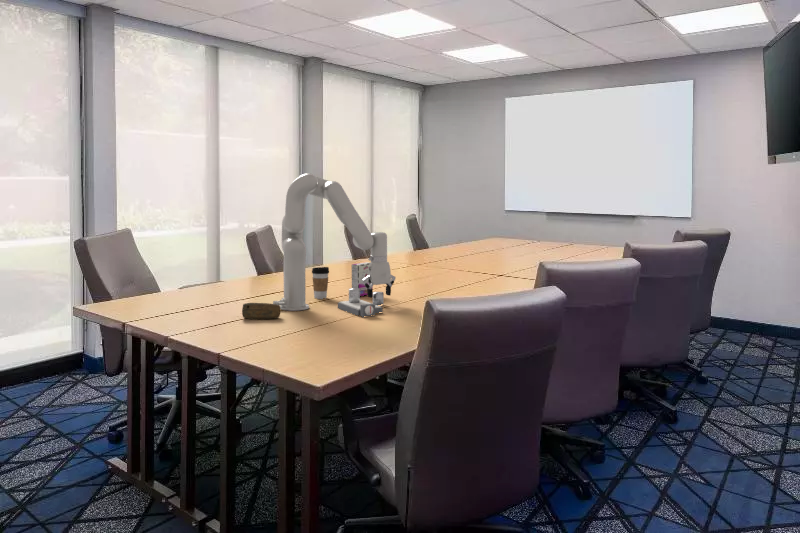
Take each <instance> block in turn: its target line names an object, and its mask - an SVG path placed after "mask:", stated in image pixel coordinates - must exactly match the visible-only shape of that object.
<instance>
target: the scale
mask: <svg viewBox="0 0 800 533" xmlns="http://www.w3.org/2000/svg"><path fill="white" fill-rule="evenodd" d="M338 308H339V309H338ZM337 309H338V310H341V311H344V312H346V311H347V312H346V313H349V312H350V313H349V314H351V313H352V314H351V315H354V314H355V315H354V316H356V315H358V316H357V317H360V316H362V317H361V318H365V317H364V316H371V315H375V316H376V314H375V313H379V312H384V311H383V306H378V305H375V304H373V302H369V301H366V300H363V299H360V303H349V300H344V301H339V302H337ZM359 315H360V316H359ZM371 317H372V316H371Z"/></svg>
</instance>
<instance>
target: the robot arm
mask: <svg viewBox="0 0 800 533" xmlns="http://www.w3.org/2000/svg"><path fill="white" fill-rule="evenodd" d="M309 195H311V196H314V197H317V198H320V199H325V200H327V202H328V203H329V205H330V207H331V208H332V210H333V213H335V215H336V217H337V218H338V220H339V221H340V223H341V224H342V225H343V226H345V227H346V228H347V229H348V231H349V232H350V234H351V235H352V243H353V245H354V247H355V248H357V249H358V248H359V249H360V250H361V251H362V250H363V251H367V250H370V257H368V262H369V261H370V262H369V263H370V264H369V270H368V276H367V277H366V278H364V279H363V280H362V282H363V284H364V286H365V287H366V288H367V295H368V296H367V297H368V298H372V299H373V292H374V291H373V292H372V289H371V288H372V287H373V288H374V285H375V286H379V285H386V286H385V295H387V296H391V293H392V287H393V285H394V284H395V280H396V276H394V275H393V274H392V272H391V266H390V262H389V261H388V234H387V233H386V232H382V231H381V232H380V231H377V232H376V231H375V232H370V230H369V228H368V226H367V225H366V224H365V222H364V220H363V218H362V217H361V216H360V214H359V213H358V211H357V210H356V208H355V207H354V205H353V203H352V201H351V200H350V198H349V196H348V195H347V193H346V191H345V190H344V188H343V186H342V185H341V184H340V183H339V182H338V181H336V180H335V181H334V180H327V179H324V178H320V177H318V176H316V175H315V174H313V173H308V172H306V173H303V174H300V175H299V176H298V177H297V178H295V179H294V180H293V181H292V183H291V184H290V185H289V187H288V189H287V191H286V195H285V213H284V216H283V218H282V220H281V249H282V251H283V271H282V272H283V297H281V299H279V300H273V302H272V304H276V305H279V306H280V310H283V311H290V312H295V311H297V312H298V311H299V312H300V311H305V310H308V309H309V308H310V304H308V303H306V261H307V247H306V244H305V242H304V230H305V228H306V204H307V203H306V201H307V197H308V196H309ZM367 280H368V284H367Z"/></svg>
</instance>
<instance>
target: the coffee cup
mask: <svg viewBox="0 0 800 533" xmlns="http://www.w3.org/2000/svg"><path fill="white" fill-rule="evenodd" d="M329 269H330V268H329V266H321V267H320V266H319V267H312V269H311V274H312V285H313V286H312V287H313V298H314V299H316V298H317V299H318V300H320V299H321V300H324V299H323V298H325V299H327V298H326V297H327V296H328V295H327V294H328V284H329V273H330V270H329ZM317 299H316V300H317Z"/></svg>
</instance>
